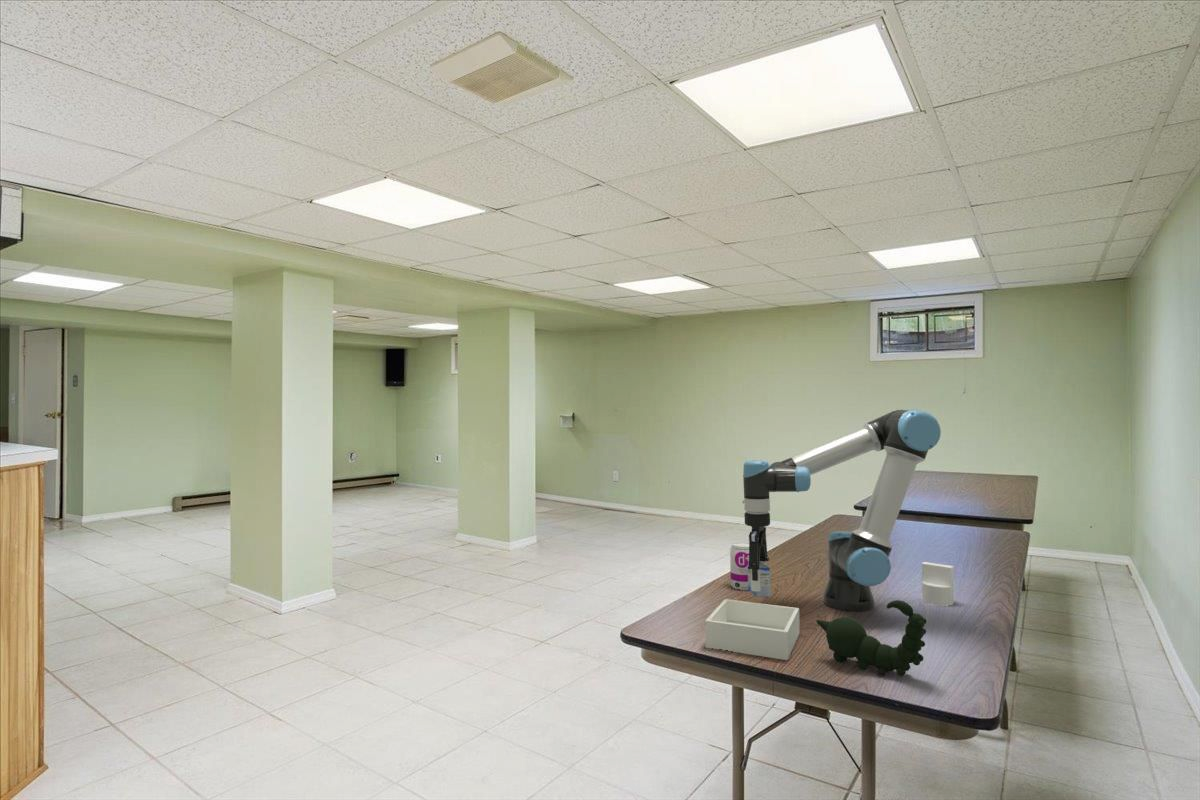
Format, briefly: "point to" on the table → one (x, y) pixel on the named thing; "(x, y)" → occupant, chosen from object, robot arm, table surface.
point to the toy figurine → (876, 642)
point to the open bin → (753, 629)
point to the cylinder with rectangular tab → (937, 584)
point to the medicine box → (764, 581)
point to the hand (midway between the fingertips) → (759, 586)
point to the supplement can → (739, 565)
